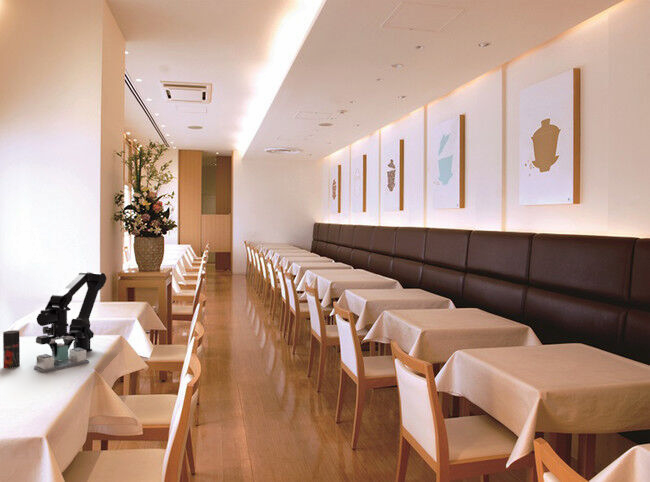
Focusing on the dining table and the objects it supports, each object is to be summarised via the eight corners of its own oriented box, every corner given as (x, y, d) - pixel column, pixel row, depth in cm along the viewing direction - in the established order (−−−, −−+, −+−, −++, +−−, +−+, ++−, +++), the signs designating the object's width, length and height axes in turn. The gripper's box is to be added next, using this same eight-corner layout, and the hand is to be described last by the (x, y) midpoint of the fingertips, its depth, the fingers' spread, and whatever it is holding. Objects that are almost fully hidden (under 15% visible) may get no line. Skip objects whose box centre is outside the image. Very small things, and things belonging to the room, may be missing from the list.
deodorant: (23, 365, 216) (22, 331, 215) (10, 369, 210) (10, 333, 210) (12, 363, 218) (12, 329, 217) (0, 367, 212) (-1, 332, 212)
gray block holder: (78, 359, 227) (78, 346, 227) (88, 362, 222) (88, 349, 221) (34, 368, 211) (34, 355, 211) (44, 372, 206) (44, 358, 206)
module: (61, 356, 231) (61, 342, 231) (68, 358, 227) (68, 344, 227) (52, 358, 228) (52, 344, 228) (59, 360, 224) (59, 346, 224)
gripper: (71, 316, 239) (71, 348, 240) (29, 322, 224) (30, 356, 225) (83, 319, 233) (83, 352, 233) (41, 325, 218) (41, 361, 218)
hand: (60, 355), depth 228 cm, fingers closed on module, 4 cm apart
